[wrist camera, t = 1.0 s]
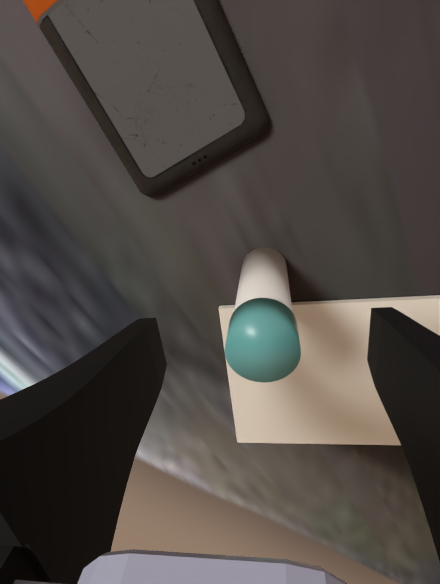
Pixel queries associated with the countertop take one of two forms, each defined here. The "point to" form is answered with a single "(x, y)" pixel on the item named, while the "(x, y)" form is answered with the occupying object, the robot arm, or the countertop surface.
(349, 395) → the notepad
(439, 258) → the countertop surface
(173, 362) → the countertop surface
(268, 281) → the marker
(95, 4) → the phone
